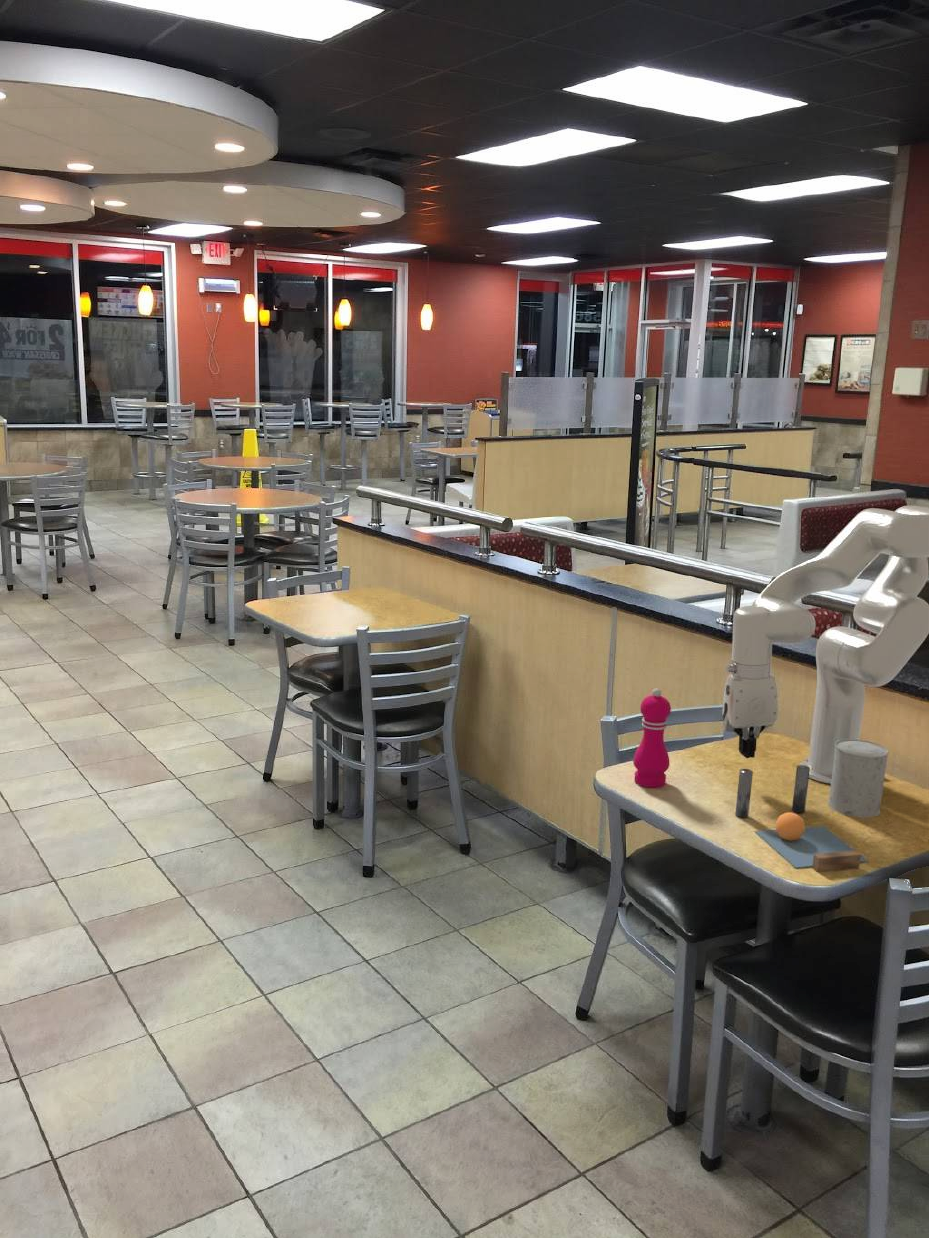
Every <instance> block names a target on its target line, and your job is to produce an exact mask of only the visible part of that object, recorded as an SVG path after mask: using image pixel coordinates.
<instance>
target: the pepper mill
mask: <svg viewBox="0 0 929 1238" xmlns="http://www.w3.org/2000/svg"><path fill="white" fill-rule="evenodd" d="M639 709H640V713H641V715H642V719H641V722H642V723H641V726H642V727H643V734H642V739H641V741H640V743H639V746H638V747H637V749H636V750H635V753H634V756H633V766H634V767H635V769H636V771H635V773H634V782H635V784H637V785H638V784H639V786H640V785H642V786H641V787H643V786H646V787H645V788H648V787H652V788H651V789H658V787H659V788H661V787H664V786H665V785H666V781H667V775H666V773H665V772H667V771H668V770H669V767H670V756H669V753H668V750H667V748H666V745H665V740H664V737H665V735H664V733H665V729H667V727H668V725H667V723H668V720H667V718H668V717H669V716H670V715H671V711H672V708H671V703H670V701H669V700H668V699H667V698H666V697H664V696H663V695H662V690H661V689H659V688H656V687H655V688H654V689H653V690H652V692H651V695H647V696H646V697H644V698H643V699H642V701H641V703H640V708H639ZM653 787H654V788H653Z"/></svg>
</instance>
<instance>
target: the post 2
mask: <svg viewBox="0 0 929 1238" xmlns="http://www.w3.org/2000/svg"><path fill="white" fill-rule="evenodd" d="M809 772H810V768H809V767H808V766H805V765H800V764H799V765H796V771H795V777H794V779H795V780H794V788H793V795H792V805H791V813H795V814H797V815H801V814H802V815H803V814H805V813H806V806H807V805H806V804H807V797H808V788H809V787H808V786H809V779H810V778H809Z"/></svg>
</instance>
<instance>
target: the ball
mask: <svg viewBox="0 0 929 1238" xmlns="http://www.w3.org/2000/svg"><path fill="white" fill-rule="evenodd" d="M805 827H806V826H805V822H804V820H803V818H802V817H801V816H799V814H797V813H794V812H785V813H782V814H781V815H780V816H779V817H777V820H776V822H775V830H776V831H777V833H778V834H779V836H780V837H781V838H783V839H785V840H788V841H794V840H797V839H799V838H800V837H801V836H802V835H803V833H804V830H805Z"/></svg>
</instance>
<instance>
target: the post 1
mask: <svg viewBox="0 0 929 1238" xmlns="http://www.w3.org/2000/svg"><path fill="white" fill-rule="evenodd" d="M753 774H754V772H753V770H751V769H748V768H741V769H739V775H738V784H737V794H736V803H735V813H734V815H735V817H737V818H739V819H748V818H749V813H750V806H751V805H750V801H751V793H752V784H753V777H754V776H753Z"/></svg>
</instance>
